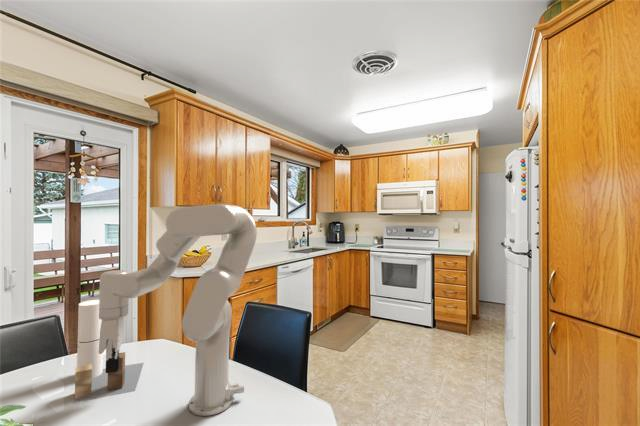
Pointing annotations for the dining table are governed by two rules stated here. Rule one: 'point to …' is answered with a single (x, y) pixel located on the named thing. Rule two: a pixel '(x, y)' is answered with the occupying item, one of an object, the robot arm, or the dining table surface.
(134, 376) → the mat
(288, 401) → the dining table surface
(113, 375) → the walnut block
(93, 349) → the cylindrical container
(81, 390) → the oak block
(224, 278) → the robot arm
